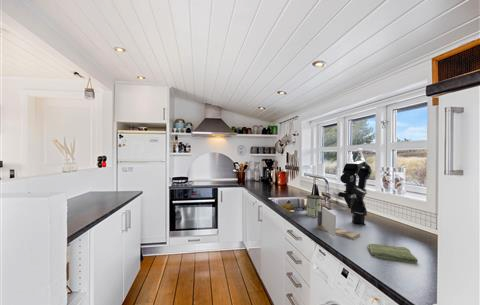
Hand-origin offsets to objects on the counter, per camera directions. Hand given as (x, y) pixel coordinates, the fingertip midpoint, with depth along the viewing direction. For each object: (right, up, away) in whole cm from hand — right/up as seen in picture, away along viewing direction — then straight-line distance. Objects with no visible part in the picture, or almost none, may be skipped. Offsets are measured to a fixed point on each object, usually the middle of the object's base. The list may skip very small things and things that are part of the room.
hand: (349, 208), depth 138 cm
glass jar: (-13, -13, +29) cm, 34 cm away
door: (-17, -10, -8) cm, 22 cm away
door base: (-11, -12, -6) cm, 18 cm away
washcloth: (+2, -13, -35) cm, 37 cm away
